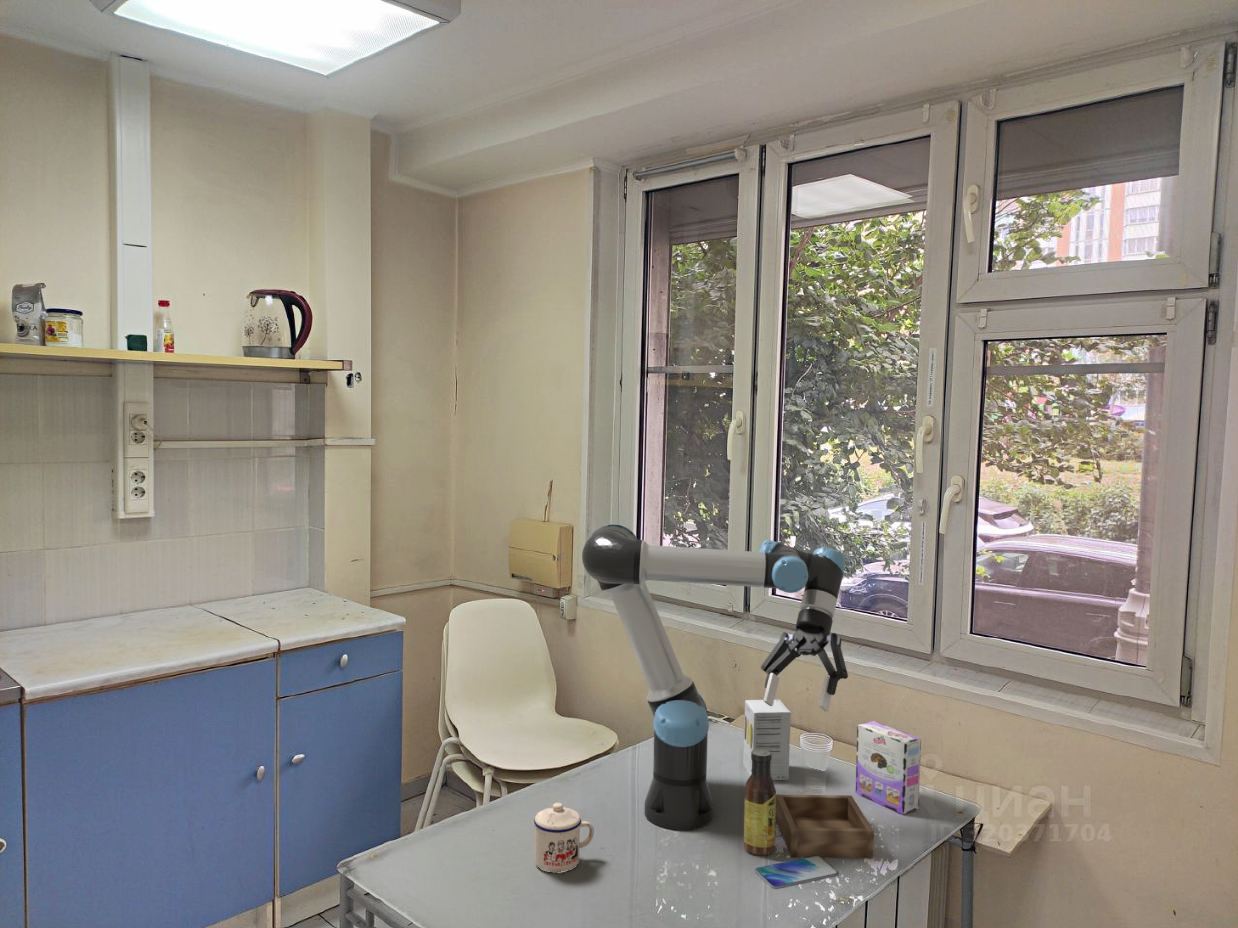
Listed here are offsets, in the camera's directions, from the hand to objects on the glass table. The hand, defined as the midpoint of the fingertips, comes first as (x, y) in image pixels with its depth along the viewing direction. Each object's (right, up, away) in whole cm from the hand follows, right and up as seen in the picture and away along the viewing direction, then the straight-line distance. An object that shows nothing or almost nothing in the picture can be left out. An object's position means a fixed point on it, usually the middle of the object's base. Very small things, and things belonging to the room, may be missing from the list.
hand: (794, 706), depth 187 cm
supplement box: (-1, -25, +30) cm, 39 cm away
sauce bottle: (-9, -27, -8) cm, 29 cm away
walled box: (+5, -27, -3) cm, 27 cm away
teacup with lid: (-48, -27, -14) cm, 56 cm away
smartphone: (-3, -28, -17) cm, 33 cm away
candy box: (+24, -26, +16) cm, 39 cm away
